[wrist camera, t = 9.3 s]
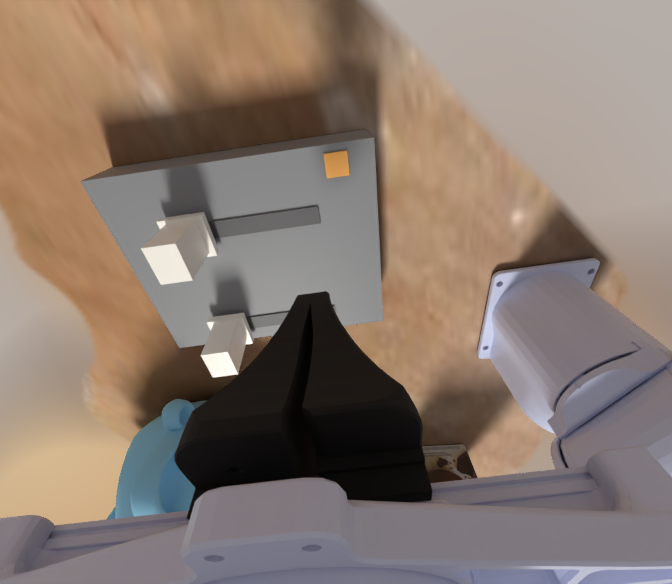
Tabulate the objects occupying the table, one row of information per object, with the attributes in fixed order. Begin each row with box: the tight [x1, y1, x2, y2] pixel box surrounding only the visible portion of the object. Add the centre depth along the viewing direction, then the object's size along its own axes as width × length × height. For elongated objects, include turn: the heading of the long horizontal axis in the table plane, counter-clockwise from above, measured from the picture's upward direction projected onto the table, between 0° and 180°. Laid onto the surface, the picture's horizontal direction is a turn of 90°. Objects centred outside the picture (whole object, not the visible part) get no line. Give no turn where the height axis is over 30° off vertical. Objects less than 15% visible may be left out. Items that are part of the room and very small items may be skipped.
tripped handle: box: [141, 212, 219, 285], centre depth 16 cm, size 2×2×3 cm
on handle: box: [201, 313, 254, 378], centre depth 20 cm, size 2×2×3 cm
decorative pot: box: [106, 399, 207, 520], centre depth 28 cm, size 16×16×14 cm
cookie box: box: [422, 444, 477, 483], centre depth 33 cm, size 9×6×16 cm
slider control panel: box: [80, 129, 383, 348], centre depth 20 cm, size 12×15×3 cm
